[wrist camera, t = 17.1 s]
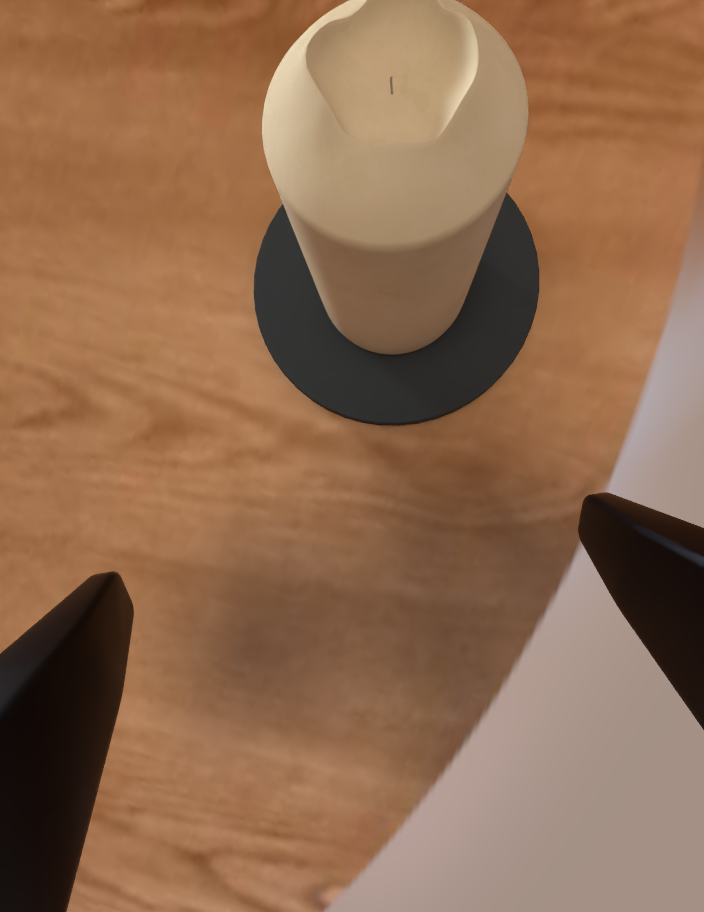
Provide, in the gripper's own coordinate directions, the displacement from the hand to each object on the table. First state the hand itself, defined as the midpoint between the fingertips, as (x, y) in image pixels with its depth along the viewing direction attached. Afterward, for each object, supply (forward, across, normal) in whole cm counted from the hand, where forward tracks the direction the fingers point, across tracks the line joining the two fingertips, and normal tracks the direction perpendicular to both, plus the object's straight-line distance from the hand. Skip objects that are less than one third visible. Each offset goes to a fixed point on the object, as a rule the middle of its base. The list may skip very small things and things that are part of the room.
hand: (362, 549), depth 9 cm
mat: (+12, -3, -2) cm, 13 cm away
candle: (+12, -3, -2) cm, 13 cm away
